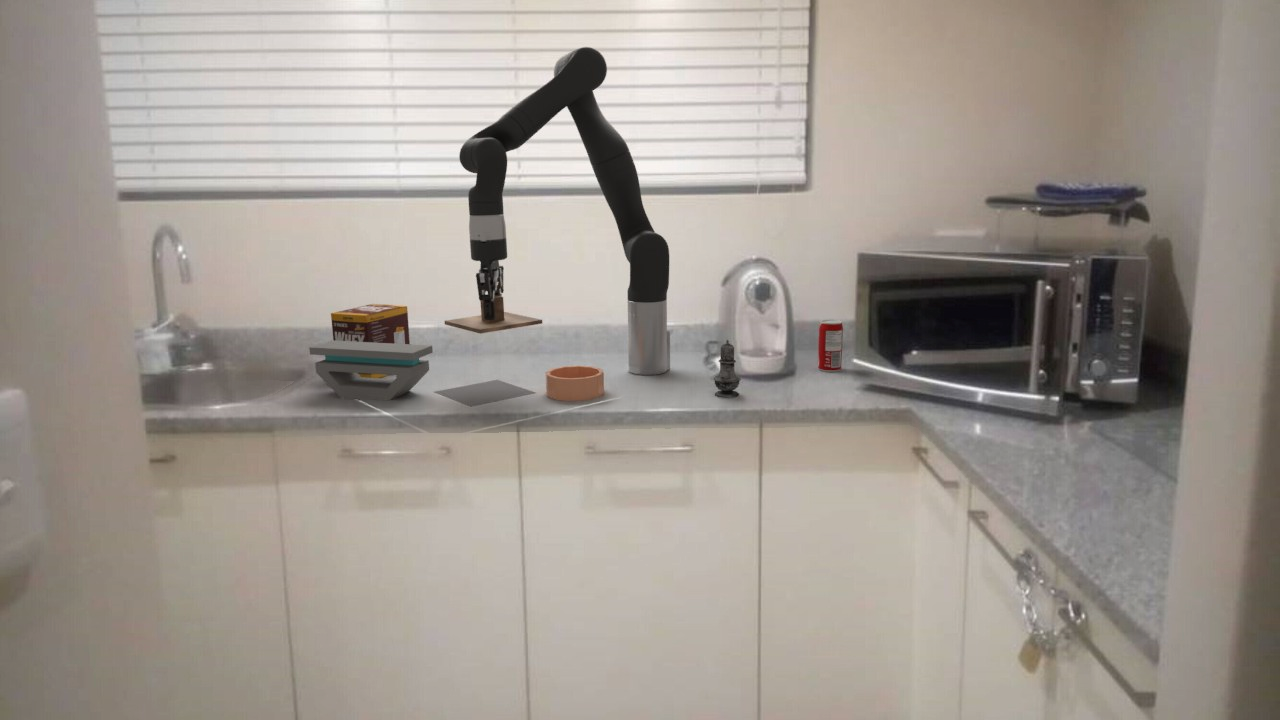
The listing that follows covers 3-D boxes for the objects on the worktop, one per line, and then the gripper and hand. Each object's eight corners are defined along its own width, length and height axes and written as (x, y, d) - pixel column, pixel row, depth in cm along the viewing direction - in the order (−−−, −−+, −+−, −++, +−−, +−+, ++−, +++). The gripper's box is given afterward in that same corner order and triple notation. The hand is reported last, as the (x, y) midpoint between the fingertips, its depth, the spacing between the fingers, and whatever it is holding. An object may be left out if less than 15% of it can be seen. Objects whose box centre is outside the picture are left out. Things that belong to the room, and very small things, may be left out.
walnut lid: (504, 315, 192) (503, 289, 191) (542, 323, 181) (541, 296, 180) (444, 324, 183) (442, 297, 182) (480, 333, 172) (478, 305, 171)
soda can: (825, 366, 208) (827, 317, 205) (845, 369, 204) (847, 319, 202) (813, 370, 204) (814, 320, 201) (833, 373, 200) (835, 323, 198)
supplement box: (335, 377, 202) (329, 312, 198) (378, 364, 216) (373, 303, 212) (370, 381, 198) (365, 315, 195) (412, 367, 212) (407, 305, 208)
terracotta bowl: (580, 385, 192) (580, 363, 191) (614, 395, 183) (614, 372, 182) (536, 394, 185) (535, 371, 184) (568, 405, 176) (568, 381, 175)
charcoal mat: (497, 381, 196) (497, 379, 196) (536, 394, 185) (536, 392, 185) (433, 393, 186) (433, 391, 186) (470, 408, 174) (470, 406, 174)
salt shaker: (739, 398, 179) (740, 342, 177) (711, 397, 181) (711, 341, 178) (741, 391, 185) (742, 337, 182) (714, 390, 186) (715, 336, 184)
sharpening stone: (314, 396, 185) (309, 347, 183) (336, 387, 193) (331, 340, 190) (416, 404, 178) (412, 353, 176) (435, 394, 186) (432, 345, 183)
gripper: (479, 234, 185) (484, 311, 189) (460, 240, 171) (466, 323, 175) (513, 233, 185) (517, 311, 188) (497, 239, 171) (502, 323, 175)
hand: (493, 316), depth 182 cm, fingers closed on walnut lid, 5 cm apart
